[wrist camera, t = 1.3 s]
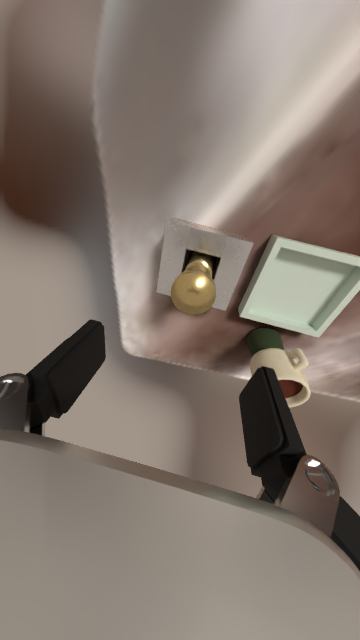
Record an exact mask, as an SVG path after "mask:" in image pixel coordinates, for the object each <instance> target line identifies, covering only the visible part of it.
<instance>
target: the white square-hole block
mask: <svg viewBox="0 0 360 640" xmlns="http://www.w3.org/2000/svg"><path fill="white" fill-rule="evenodd" d="M252 246H253V242H252V241H251V240H250V239H249V238H248V237H247V236H244V235H240V234H236V233H232V232H228V231H224V230H220V229H216V228H212V227H208V226H204V225H200V224H196V223H192V222H188V221H184V220H180V219H176V218H175V219H171V220H168V221H166V225H165V232H164V240H163V247H162V254H161V262H160V269H159V277H158V284H157V291H156V292H157V293H161V294H164V295H168V296H171V287H172V285H173V283H174V281H175V279H176V278H177V276H178V275H179V274H181V273H182V272H184V271H185V268H186V264H187V259H188V254H189V250H193V251H197V252H201V253H205V254H209V255H213V256H217V257H218V258H217V261H216V264H215V267H214V270H213V273H212V279H213V280H214V283H215V286H216V298H215V302H214V304H213V305H212V307H214V308H218V309H221V310H225V311H226V309H227V306H228V304H229V301H230V299H231V297H232V294H233V292H234V289H235V287H236V284H237V282H238V280H239V277H240V275H241V272H242V270H243V267H244V265H245V263H246V260H247V258H248V255H249V253H250V251H251V248H252Z"/></svg>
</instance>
